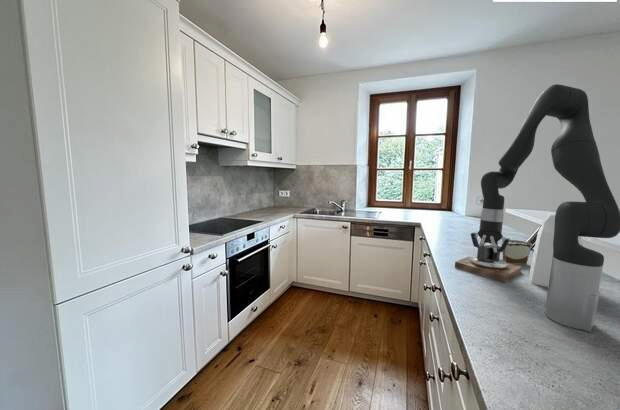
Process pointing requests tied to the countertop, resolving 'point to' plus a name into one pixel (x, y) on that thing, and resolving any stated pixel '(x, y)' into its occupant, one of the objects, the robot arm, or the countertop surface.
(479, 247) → the dial
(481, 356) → the countertop surface
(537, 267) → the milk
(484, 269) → the wooden board
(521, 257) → the food container
